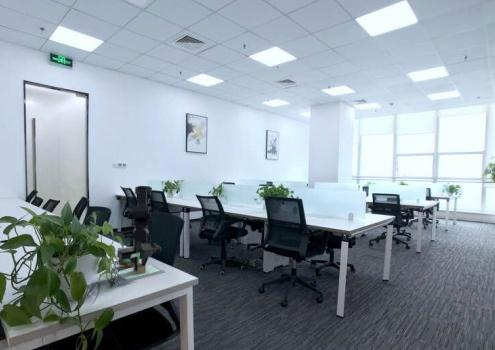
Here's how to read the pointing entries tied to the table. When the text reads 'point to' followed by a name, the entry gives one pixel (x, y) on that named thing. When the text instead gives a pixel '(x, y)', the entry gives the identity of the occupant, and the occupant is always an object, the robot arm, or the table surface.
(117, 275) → the mat
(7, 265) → the table surface
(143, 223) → the robot arm
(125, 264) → the food container
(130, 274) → the lid
